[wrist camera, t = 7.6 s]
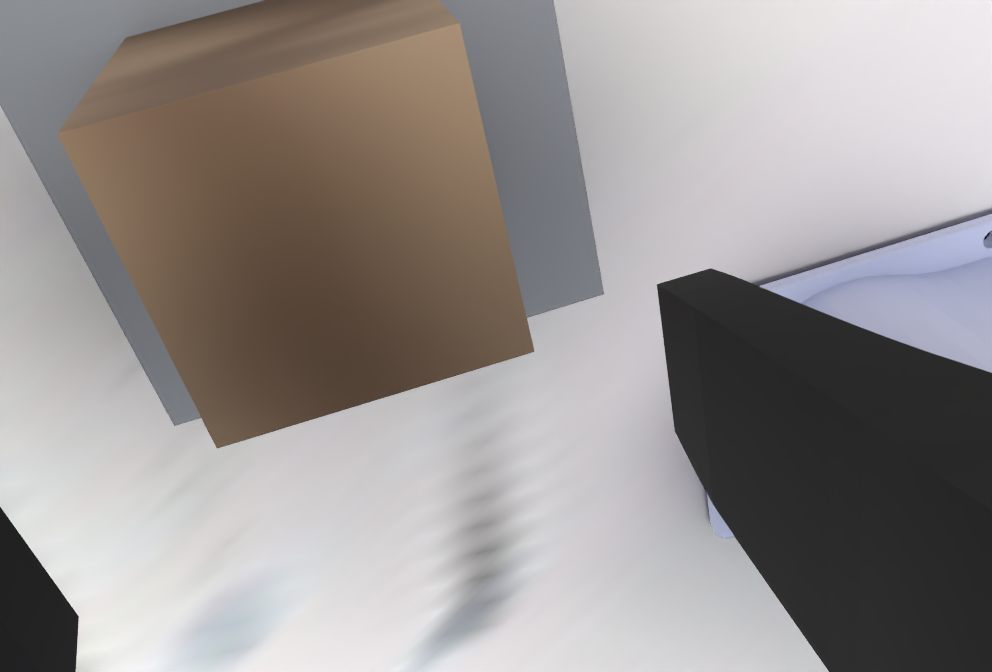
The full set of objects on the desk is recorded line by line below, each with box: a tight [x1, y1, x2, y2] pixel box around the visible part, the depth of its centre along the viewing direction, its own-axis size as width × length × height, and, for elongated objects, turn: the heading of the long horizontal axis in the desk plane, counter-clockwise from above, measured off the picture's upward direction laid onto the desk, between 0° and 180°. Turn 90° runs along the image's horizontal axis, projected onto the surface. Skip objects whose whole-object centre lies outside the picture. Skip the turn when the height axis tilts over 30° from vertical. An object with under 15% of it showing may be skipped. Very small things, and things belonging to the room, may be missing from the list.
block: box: [57, 0, 534, 448], centre depth 13 cm, size 4×4×5 cm
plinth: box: [0, 0, 604, 426], centre depth 16 cm, size 9×9×2 cm
